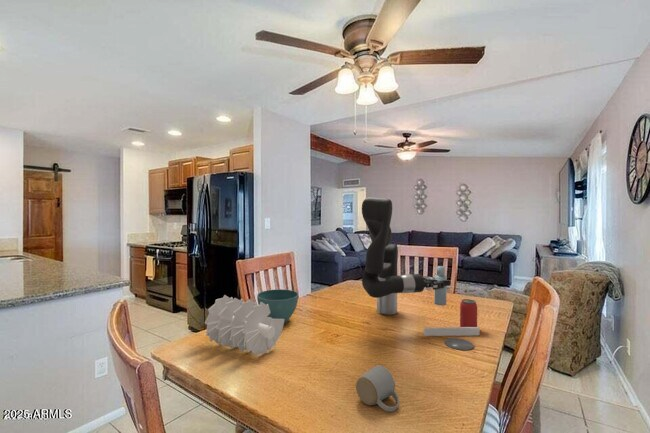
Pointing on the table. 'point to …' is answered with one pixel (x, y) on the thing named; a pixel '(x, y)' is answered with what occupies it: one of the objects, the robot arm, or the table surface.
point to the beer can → (468, 313)
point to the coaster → (459, 344)
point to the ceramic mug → (377, 387)
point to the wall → (450, 331)
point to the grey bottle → (441, 293)
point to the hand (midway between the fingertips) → (446, 281)
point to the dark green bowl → (279, 303)
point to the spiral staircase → (243, 325)
